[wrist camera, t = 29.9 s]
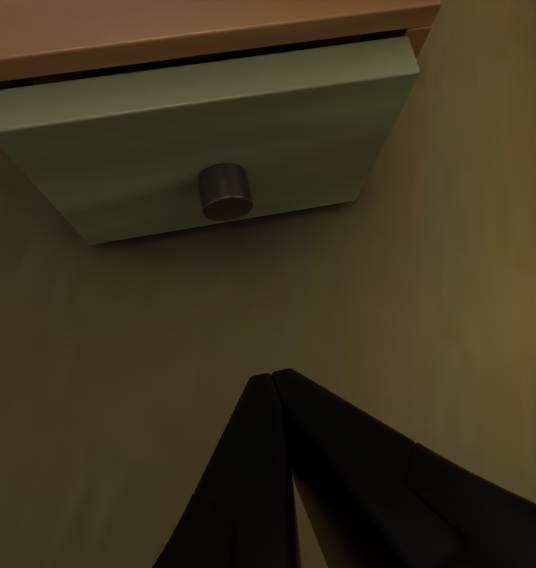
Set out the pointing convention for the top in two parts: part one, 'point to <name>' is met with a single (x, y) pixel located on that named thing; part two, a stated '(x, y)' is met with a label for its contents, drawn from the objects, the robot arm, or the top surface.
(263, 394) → the robot arm
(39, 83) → the drawer
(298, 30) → the cabinet
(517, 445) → the top surface
